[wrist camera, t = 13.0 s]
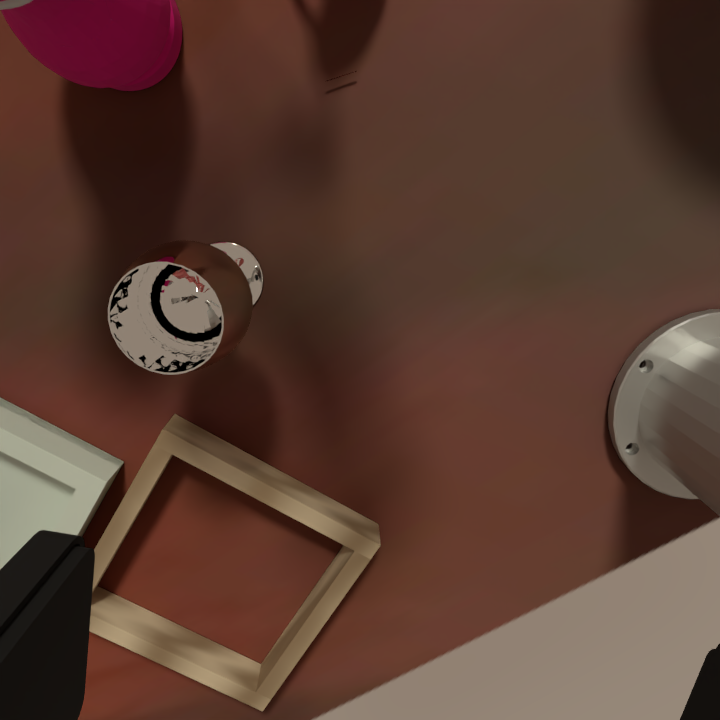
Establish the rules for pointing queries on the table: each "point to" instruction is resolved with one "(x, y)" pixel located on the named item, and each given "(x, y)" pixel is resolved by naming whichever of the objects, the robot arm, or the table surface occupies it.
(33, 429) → the sage dish
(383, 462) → the table surface
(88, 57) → the pepper mill
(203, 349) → the wineglass
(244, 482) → the oak frame
